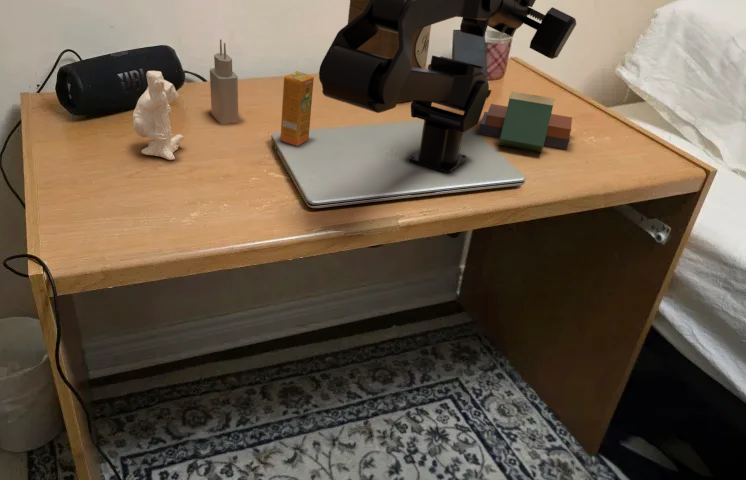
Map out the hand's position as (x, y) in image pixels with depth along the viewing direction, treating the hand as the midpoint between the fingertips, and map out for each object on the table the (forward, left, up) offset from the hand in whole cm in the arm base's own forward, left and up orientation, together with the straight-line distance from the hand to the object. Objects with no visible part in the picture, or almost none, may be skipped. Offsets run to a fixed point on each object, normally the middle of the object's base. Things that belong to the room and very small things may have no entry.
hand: (527, 20), depth 106 cm
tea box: (-12, -7, -16) cm, 21 cm away
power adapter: (-33, +35, -16) cm, 51 cm away
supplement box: (-33, +21, -16) cm, 43 cm away
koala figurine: (-49, +33, -16) cm, 62 cm away
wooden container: (-3, +23, -16) cm, 28 cm away
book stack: (-7, -5, -16) cm, 18 cm away
